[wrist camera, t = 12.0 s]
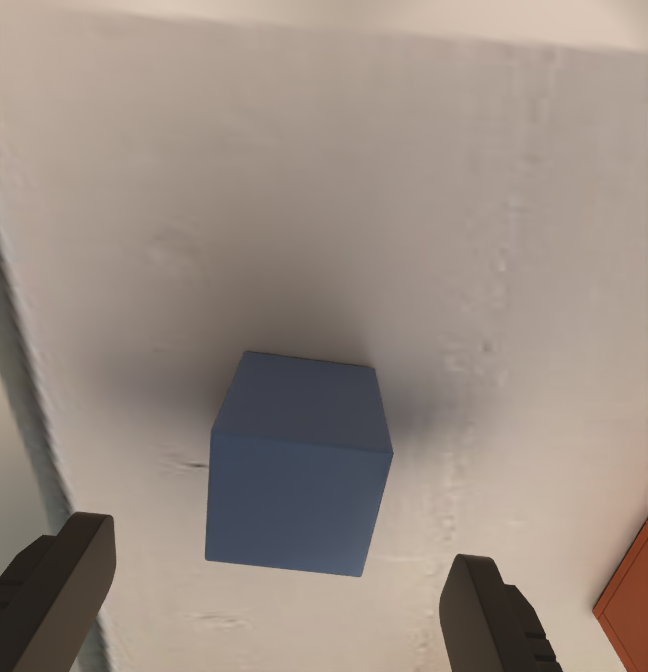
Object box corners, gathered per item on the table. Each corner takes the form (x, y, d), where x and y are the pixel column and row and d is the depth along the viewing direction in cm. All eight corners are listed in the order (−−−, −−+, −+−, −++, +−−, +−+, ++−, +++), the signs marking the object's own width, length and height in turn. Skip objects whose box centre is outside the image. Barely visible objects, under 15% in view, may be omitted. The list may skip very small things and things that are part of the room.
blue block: (243, 349, 14) (209, 430, 10) (375, 367, 14) (394, 452, 10) (235, 456, 16) (203, 562, 12) (352, 470, 16) (361, 578, 12)
